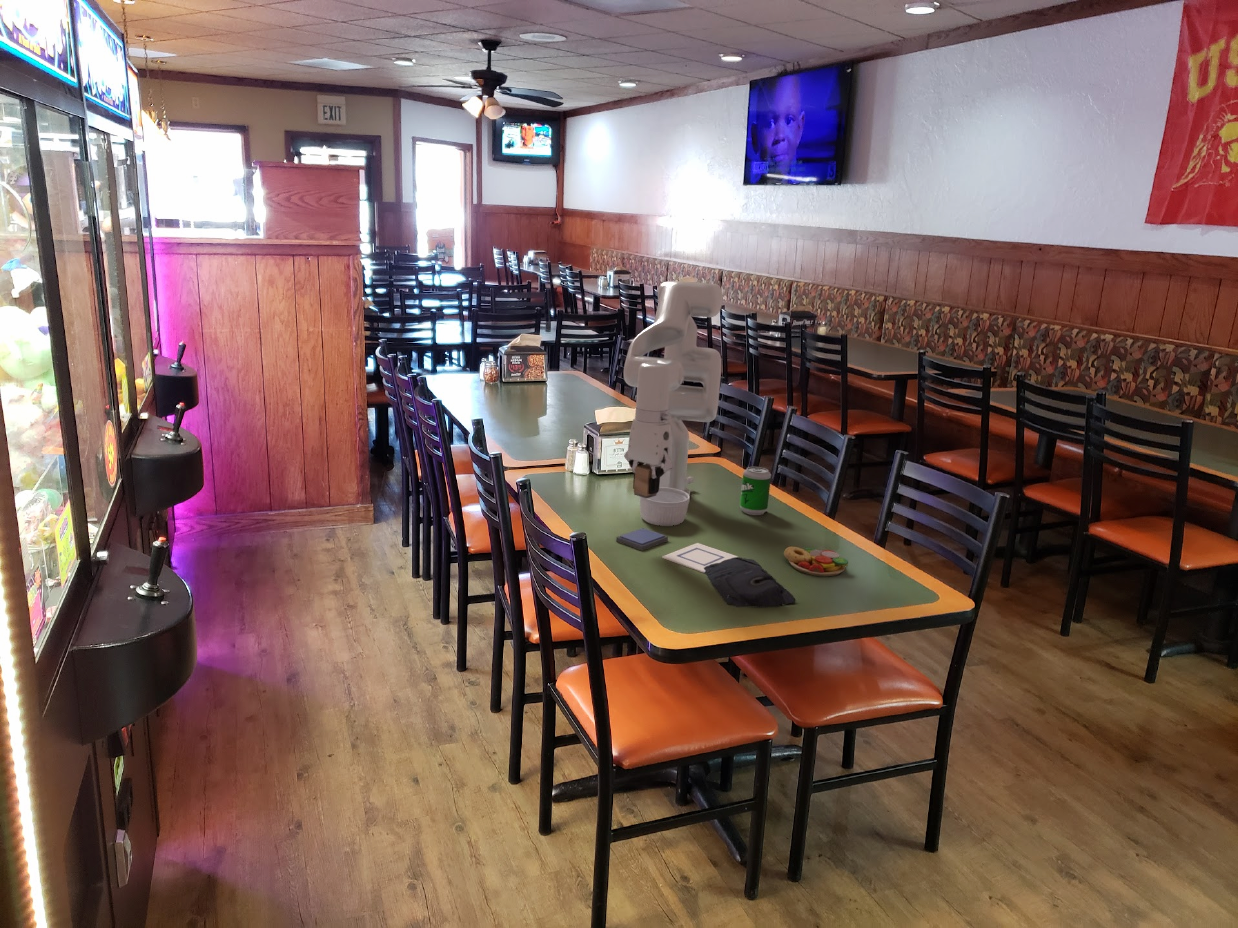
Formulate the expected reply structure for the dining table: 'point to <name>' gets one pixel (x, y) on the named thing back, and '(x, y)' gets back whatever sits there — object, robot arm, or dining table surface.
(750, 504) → the soda can
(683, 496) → the ramekin
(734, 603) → the black fabric pouch
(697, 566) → the sheet
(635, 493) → the stamp
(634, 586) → the dining table surface
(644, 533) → the ink pad
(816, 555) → the toy food set
